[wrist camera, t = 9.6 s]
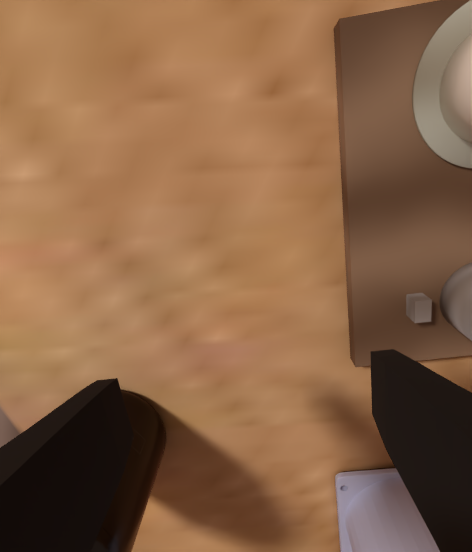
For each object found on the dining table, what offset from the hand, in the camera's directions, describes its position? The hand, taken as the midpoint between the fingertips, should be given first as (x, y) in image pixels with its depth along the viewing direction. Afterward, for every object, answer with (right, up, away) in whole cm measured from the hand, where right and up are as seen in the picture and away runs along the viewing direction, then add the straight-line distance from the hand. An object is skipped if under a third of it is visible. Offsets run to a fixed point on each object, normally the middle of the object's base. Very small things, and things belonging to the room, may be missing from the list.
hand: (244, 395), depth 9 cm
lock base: (+12, +7, +8) cm, 16 cm away
